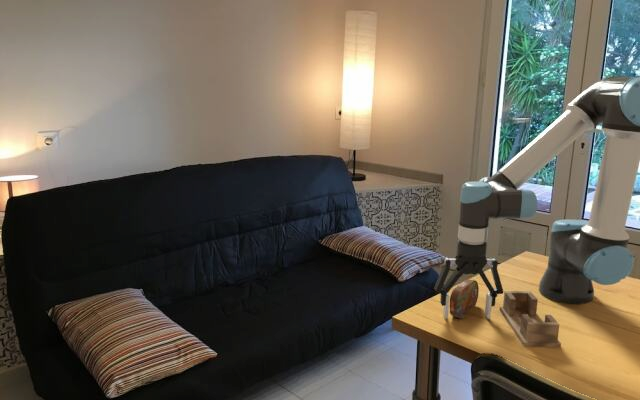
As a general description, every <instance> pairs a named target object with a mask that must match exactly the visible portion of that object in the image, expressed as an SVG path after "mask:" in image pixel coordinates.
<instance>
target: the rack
mask: <svg viewBox="0 0 640 400" xmlns="http://www.w3.org/2000/svg"><path fill="white" fill-rule="evenodd" d="M538 300H539V299H538V298H537V297H536V295H535V294H534V293H533V292H532V291H528V290H526V291H525V290H523V291H522V290H503V303H502V306H500V307H499V311H500V313H501V315H502V316H503V318H504V320H506V322H507V324H508V326H509V327H510V329H511V330H512V331H513V333H514V335H515V336H516V338H517V339H518V340H519V342H520V343H521V345H522V346H523V347H525V348H526V347H527V348H561V346H562V343H561V342H560V341H559V333H560V332H559V331H560V323H559V322H558V321H557V320H556V319H555V317H553V315H552V314H544V320H542V318H541V317H540V316H539V315H538V313H537V310H538V302H539V301H538Z"/></svg>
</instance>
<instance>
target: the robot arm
mask: <svg viewBox="0 0 640 400" xmlns="http://www.w3.org/2000/svg"><path fill="white" fill-rule="evenodd" d="M599 125H601V130H602V131H603V133H604V134H605V136H606V137H605V142H604V146H603V150H602V156H601V161H600V166H599V170H598V174H597V182H596V185H595V191H594V196H593V200H592V204H591V209H590V213H589V219H588V220H584V219H558V220H555V221H554V222H553V223H552V227H551V229H550V243H549V251H548V262H547V266H546V269H545V271H544V273H543V275H542V276H541V279H540V280H539V284H538V292H540V294H541V295H542V296H544V297H546V298H548V299H550V300H552V301H556V302H560V303H563V304H564V303H565V304H574V305H581V304H587V303H591V302H592V301H593V300H594V295H595V289H594V285H593V282H594V283H597V284H598V285H603V286H611V285H616V284H618V283H620V281H622V280H625V279H626V278H627V277H628V276H629V275H630V274H631V272H632V270H633V268H634V263H635V258H634V255H633V254H632V252H631V251H630V250H629V249H628V245H629V240H630V236H629V234H628V233H627V231H626V223H627V219H628V216H629V211H630V206H631V202H632V197H633V194H634V188H635V184H636V179H637V175H638V170H639V166H640V76H616V75H615V76H608V77H604V78H602V79H600V80H598V81H596V82H595V83H593V84H592V85H590V86H589V87H587V88H586V89H584V90H583V91H582V92H580V94H578V95H577V96H576V97H575V98H574V99H572V101H570V102H569V103H568V104H567V105H566V107H565V112H563V113H562V114H561V115H560V116H559V117H557V119H555V120H554V121H553V122H552V123H550V125H549V126H547V127H546V128H545V129H544V130H543V131H542V132H541V133H539V134H538V135H537V136H536V137H535V138H534V139H533V140H532V141H530V142H529V143H528V144H526V146H525V147H524V148H523V149H521V150H520V151H519V152H518V153H517V154H516V155H515V156H514V157H512V158H511V159H510V160H509V161H507V162H506V164H504V165H503V166H502V167H501V168H500V169H498V171H496V172H495V173H494V174H493V175H492V176H485V177H482V178H481V179H479V180H478V181H467V182H465V183H463V184H462V186H461V191H460V195H459V196H460V197H459V219H458V231H457V238H458V240H457V244H456V255H455V257H454V258H449V257H448V256H445V257H444V259H443V265H442V269H441V270H440V273H439V275H438V278H437V280H436V282H435V285H434V288H433V289H434V290H435V293H436V294H440V304H441V306H442V307H443V310H442V311H443V316H444V318H445V319H448V318H449V311H450V295H449V292H450V290H452V288H453V286H455V284H456V283H457V282H458V280H459V279H460V278H462V276H463V275H477V274H479V276H480V278H481V279H482V281H483V283H484V284H485V286H486V287H487V290H488V291H489V292H486V294H485V295H486V296H485V307H484V316H485V317H486V319H487V320H490V319H491V316H492V315H491V314H492V307H495V306H496V298H497V297H498V295H504V288H503V286H502V282H501V277H500V274H499V271H498V265H499V263H498V260H497V259H496V258H495V257H491V258H487V246H488V245H487V244H488V242H487V241H488V234H489V233H488V232H489V226H490V225H489V221H490V220H495V219H496V220H501V219H502V220H504V219H506V220H507V219H509V220H510V219H511V220H512V219H513V220H515V219H519V220H522V219H530V218H532V217H534V216H535V215H536V213H537V210H538V198H537V194H536V193H535V192H534V191H533V190H531V189H523V188H521V187H522V186H523V185H525V184H526V183H527V182H528V181H529V180H530V179H532V178H533V177H534V176H535V175H536V174H537V173H539V172H540V171H541V170H542V169H543V168H544V167H546V165H547V164H549V163H550V162H551V161H552V160H554V159H555V158H556V157H557V156H558V155H560V153H561V152H563V151H564V150H565V149H566V148H567V147H569V146H570V145H571V144H572V143H574V141H575V140H576V139H578V138H579V137H580V136H582V134H583V133H585V132H586V131H592V130H593V131H594V129H595V128H596V127H597V126H599ZM520 188H521V189H520ZM454 264H455V265H456V267H455V268H454V271H453V272H452V274H451V275H450V276H449V278H448V275H449V272H450V271H451V270H450V269H451V267H452V266H453V265H454ZM487 265H488V266H489V268H490V270H491V271H490V272H491V274H492V278H493V282H494V285H495V288H494V287H493V285H492V283H491V282H490V280H489V279H488V277H487V275H486V274H485V272H484V270H483V268H484V267H485V266H487ZM447 278H448V279H447ZM446 279H447V281H446Z"/></svg>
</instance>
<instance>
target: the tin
mask: <svg viewBox="0 0 640 400" xmlns="http://www.w3.org/2000/svg"><path fill="white" fill-rule="evenodd" d="M479 288H480V287H479V283H478V281H477V280H475V279H474V280H473V279H464V281H462V282H461V283H459V284H458V285H457V286H456V287H455V288H453V290H452V292H451V294H450V295H449V314H450V315H451V316H452V317H455V318H458V319H463V318H465V316H467V314H470V312H471V311H472V310H473V309H474V308H475V306H476V305H477V302H478V299H479V291H480V290H479Z"/></svg>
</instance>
